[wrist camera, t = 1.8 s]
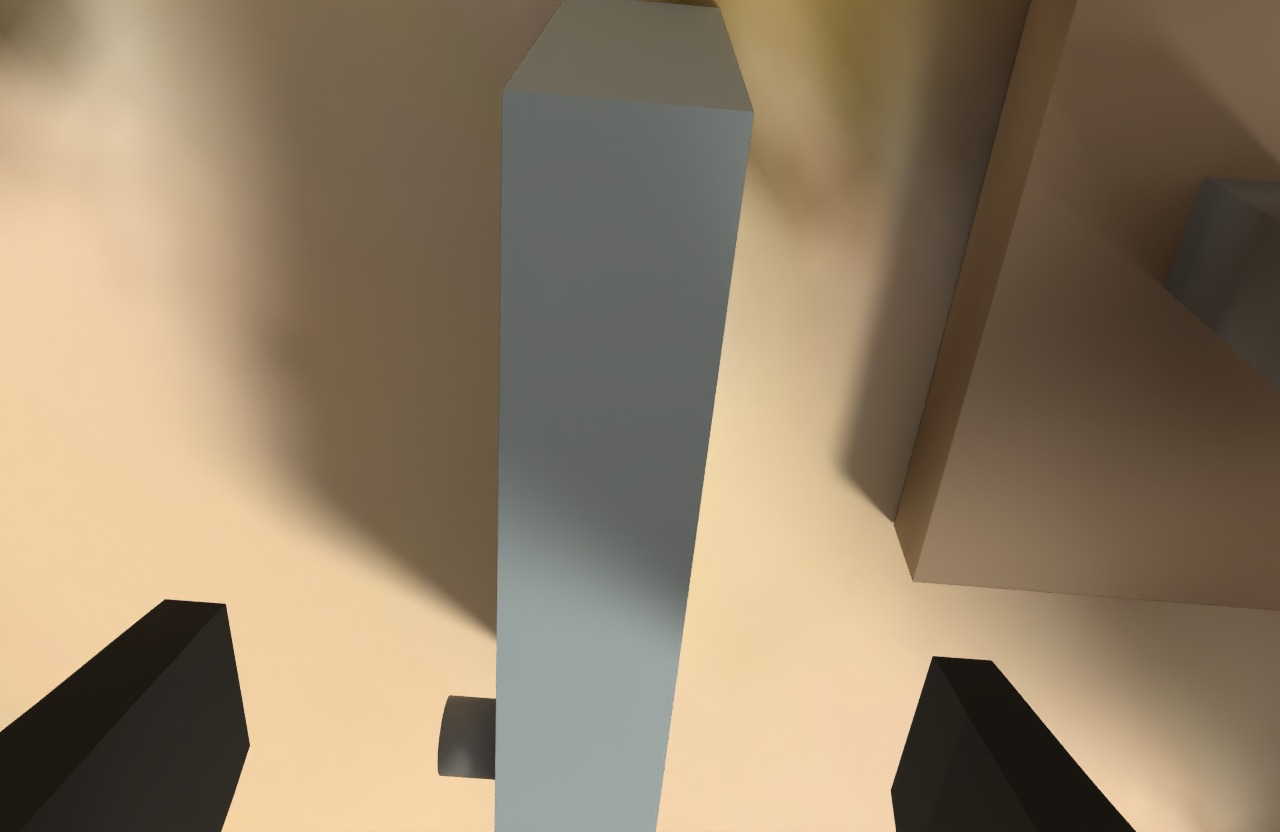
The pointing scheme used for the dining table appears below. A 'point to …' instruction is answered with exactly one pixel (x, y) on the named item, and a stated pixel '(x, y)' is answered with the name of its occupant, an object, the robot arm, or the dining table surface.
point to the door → (603, 402)
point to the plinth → (1116, 319)
